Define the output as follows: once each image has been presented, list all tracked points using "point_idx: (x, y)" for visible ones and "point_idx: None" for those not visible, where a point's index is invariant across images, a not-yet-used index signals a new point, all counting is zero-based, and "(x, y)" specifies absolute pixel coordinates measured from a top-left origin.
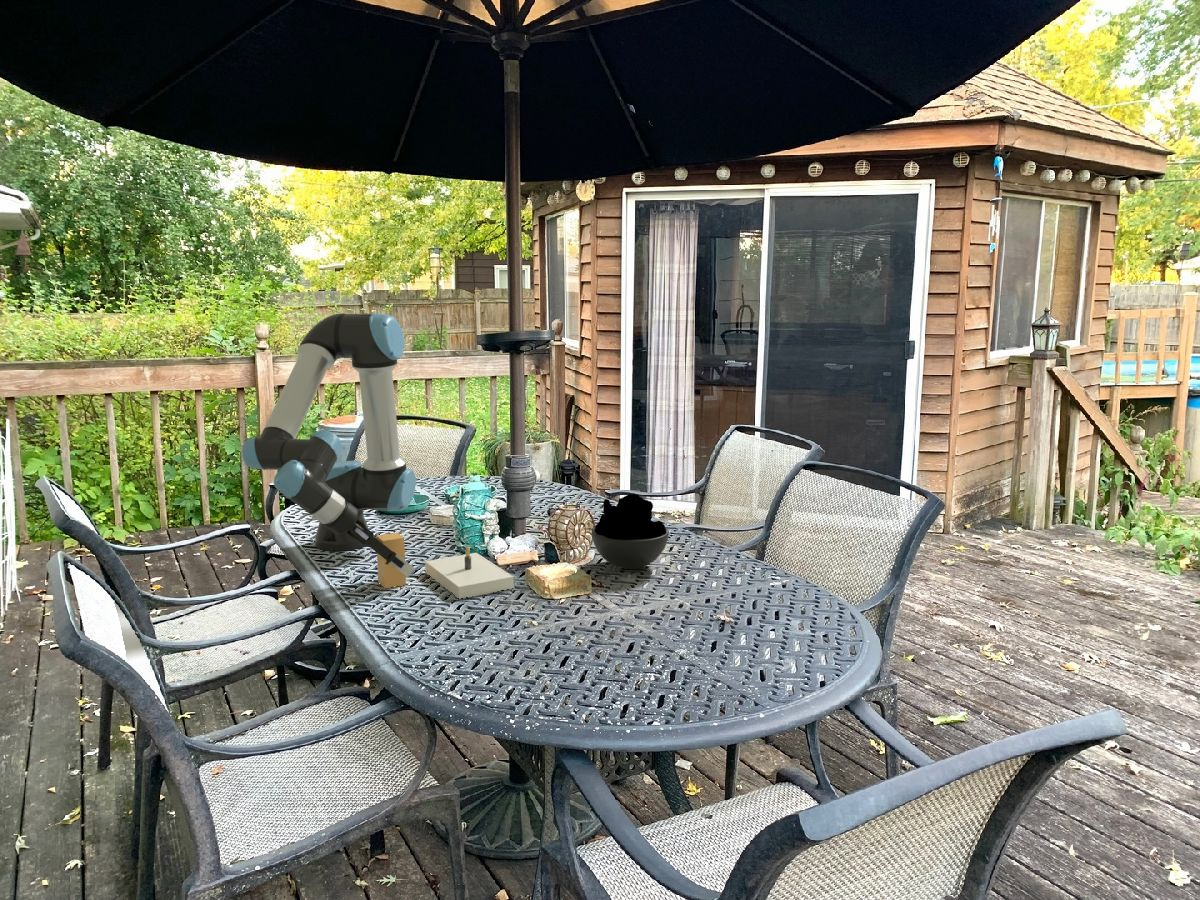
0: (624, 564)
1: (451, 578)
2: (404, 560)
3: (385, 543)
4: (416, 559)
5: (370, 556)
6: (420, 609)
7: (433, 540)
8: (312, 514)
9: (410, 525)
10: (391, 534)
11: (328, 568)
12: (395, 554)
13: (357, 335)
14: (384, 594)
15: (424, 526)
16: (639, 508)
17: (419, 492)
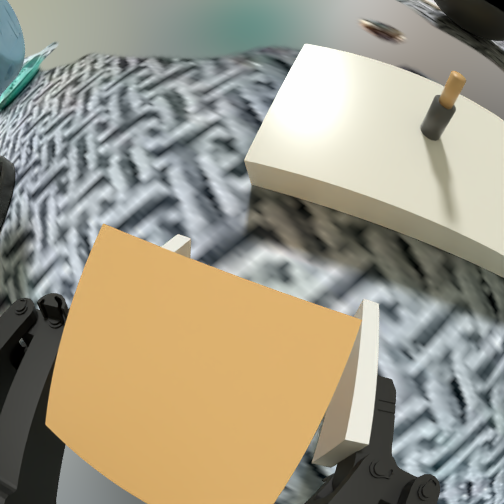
0: (498, 40)
1: (484, 234)
2: (376, 368)
3: None
4: (137, 141)
5: (38, 215)
6: (493, 409)
7: (104, 74)
8: None
9: (44, 88)
10: (102, 320)
11: (21, 343)
12: (436, 487)
13: None
14: None
15: (63, 72)
16: None
17: (27, 61)
